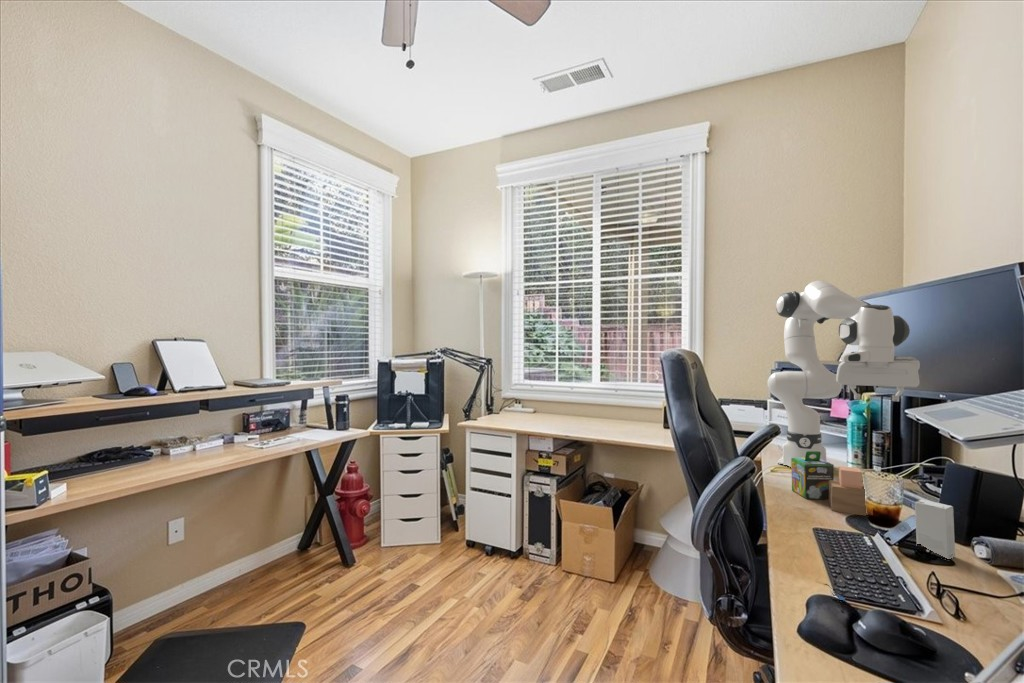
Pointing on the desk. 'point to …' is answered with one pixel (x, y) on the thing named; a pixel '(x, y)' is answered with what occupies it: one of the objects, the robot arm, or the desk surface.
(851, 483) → the cube
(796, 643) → the desk surface
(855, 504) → the block
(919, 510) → the skincare box
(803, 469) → the chalk box
